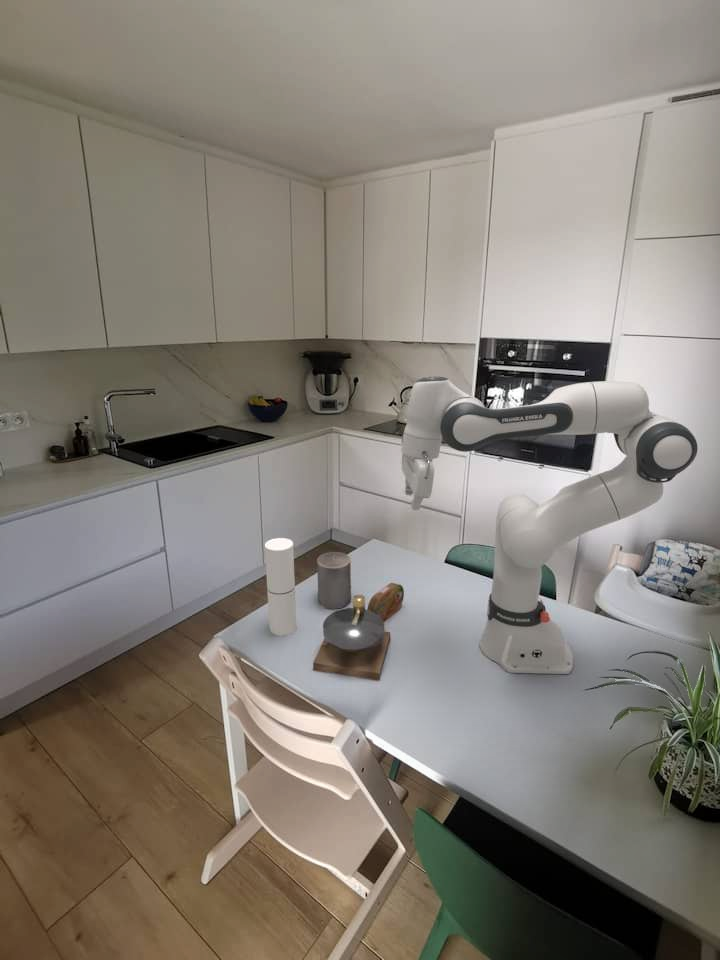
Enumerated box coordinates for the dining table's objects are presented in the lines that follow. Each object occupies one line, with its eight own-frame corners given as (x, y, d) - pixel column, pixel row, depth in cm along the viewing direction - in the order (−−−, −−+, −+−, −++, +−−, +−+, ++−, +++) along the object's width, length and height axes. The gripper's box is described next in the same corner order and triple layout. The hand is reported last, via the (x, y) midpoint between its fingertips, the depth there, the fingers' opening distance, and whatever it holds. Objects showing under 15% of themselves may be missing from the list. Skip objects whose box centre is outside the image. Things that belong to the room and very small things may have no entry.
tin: (374, 630, 134) (374, 603, 131) (364, 626, 135) (365, 599, 133) (404, 605, 145) (405, 580, 142) (395, 602, 147) (396, 576, 144)
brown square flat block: (390, 638, 130) (390, 619, 128) (379, 680, 116) (379, 659, 114) (331, 629, 134) (331, 610, 132) (313, 669, 119) (312, 648, 117)
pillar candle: (332, 588, 154) (331, 544, 149) (357, 598, 148) (357, 553, 143) (311, 602, 146) (309, 557, 141) (337, 614, 141) (336, 567, 136)
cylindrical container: (264, 631, 133) (259, 547, 124) (278, 617, 139) (274, 536, 131) (287, 638, 130) (284, 552, 122) (301, 623, 136) (298, 540, 128)
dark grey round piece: (377, 656, 114) (378, 634, 112) (315, 646, 117) (314, 624, 115) (388, 618, 128) (389, 598, 126) (332, 611, 131) (332, 591, 129)
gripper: (444, 461, 106) (433, 520, 110) (425, 436, 125) (417, 488, 130) (415, 458, 105) (405, 518, 110) (401, 434, 124) (393, 485, 129)
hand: (411, 501), depth 120 cm, fingers open, 8 cm apart
